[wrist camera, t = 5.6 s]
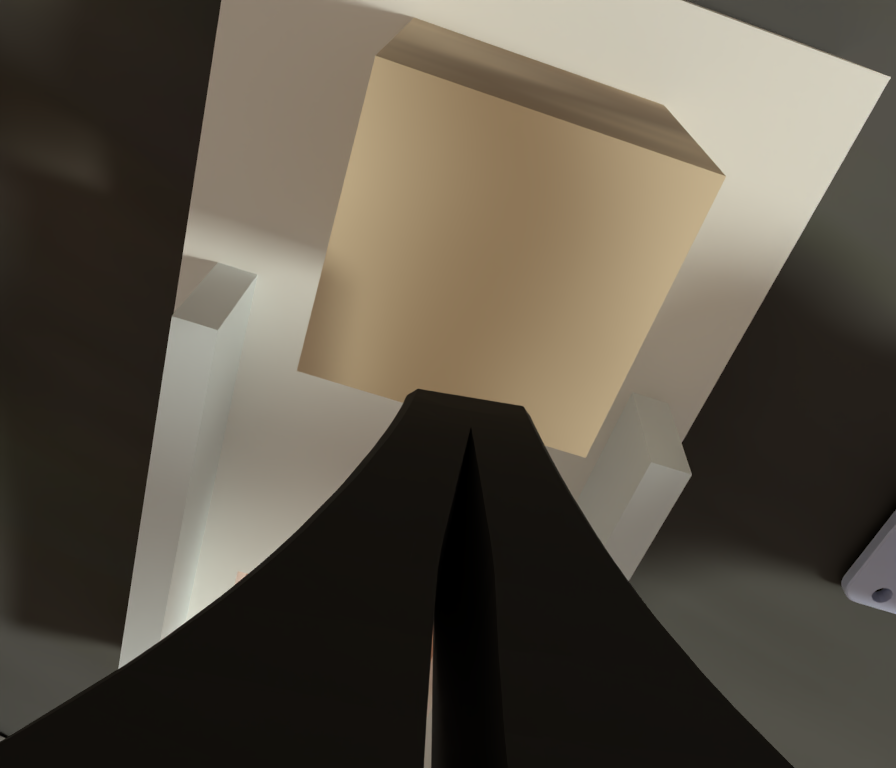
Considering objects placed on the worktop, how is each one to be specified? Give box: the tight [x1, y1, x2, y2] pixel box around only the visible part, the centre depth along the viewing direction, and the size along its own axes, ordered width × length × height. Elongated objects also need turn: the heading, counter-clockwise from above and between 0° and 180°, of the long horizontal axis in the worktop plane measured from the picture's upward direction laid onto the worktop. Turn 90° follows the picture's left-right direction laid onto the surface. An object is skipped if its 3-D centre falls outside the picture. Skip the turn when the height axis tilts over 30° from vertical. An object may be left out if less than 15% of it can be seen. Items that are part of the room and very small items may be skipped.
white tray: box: [118, 0, 891, 768], centre depth 18 cm, size 11×22×5 cm, turn 162°
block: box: [297, 18, 726, 458], centre depth 13 cm, size 4×4×4 cm
